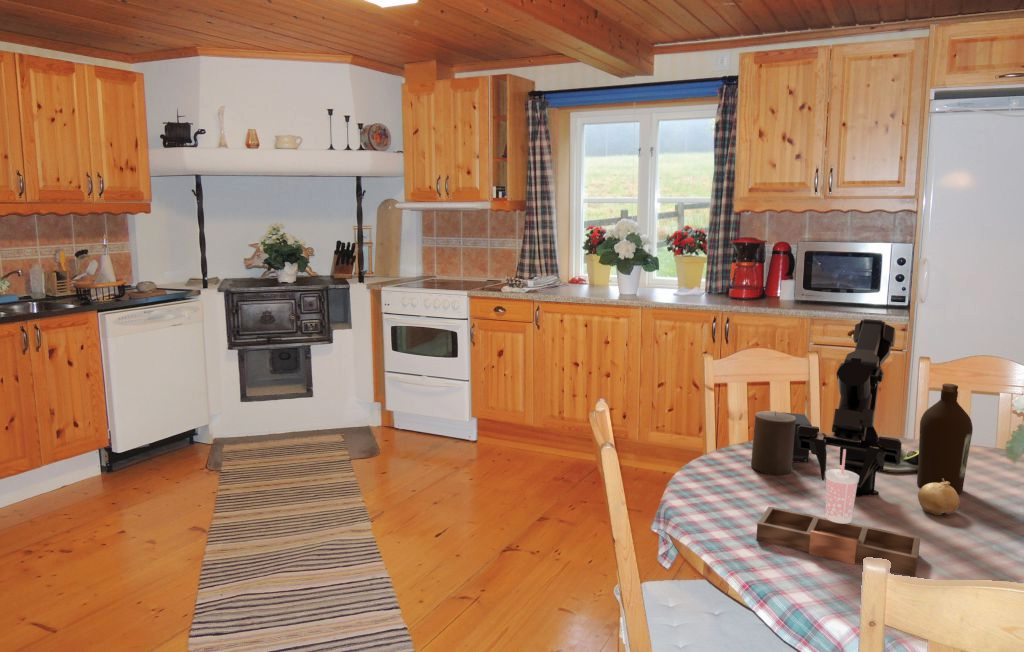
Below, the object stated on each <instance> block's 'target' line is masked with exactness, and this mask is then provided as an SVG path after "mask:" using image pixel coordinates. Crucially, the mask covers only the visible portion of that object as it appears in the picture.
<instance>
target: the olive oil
mask: <svg viewBox="0 0 1024 652" xmlns="http://www.w3.org/2000/svg"><path fill="white" fill-rule="evenodd" d="M941 386H942V387H941V388H942V389H941V390H940V399H939V400H938V401H937V402H936V403H934V404H933V405H932V406H930V407H929V408H927V409H926V410H925V411H924V412H923V414H922V416H921V418H920V421H919V443H918V450H919V460H918V472H917V477H916V478H917V479H916V485H917V487H918V488H919V489H921V488H922V487H923V486H924V485H926V484H929V483H941V482H944V481H948V482H950V484H949V485H950V486H951V487H952V488H953V489H954V490H955V491H956V492H957V494H958V496H959V495H961V494H962V493H963V489H964V485H965V484H964V483H965V477H966V471H967V466H968V465H967V464H968V460H969V459H968V458H969V452H970V448H971V441H972V436H973V422H972V419H971V417H970V416H969V414H968V413H967V412H966V411H965V409H964V408H963V407H962V406H961V405H960V403H959V402H958V398H959V397H958V396H959V391H958V389H959V385H957V384H954V383H943V384H941ZM943 478H944V481H943V480H942V479H943Z"/></svg>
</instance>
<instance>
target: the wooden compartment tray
mask: <svg viewBox="0 0 1024 652" xmlns="http://www.w3.org/2000/svg"><path fill="white" fill-rule="evenodd" d="M756 525H757V527H756V540H755V541H758V542H762V541H764V542H763V543H767V542H768V544H771V543H772V545H776V546H781V547H784V546H785V548H789V549H793V550H798V551H803V552H807V553H808V554H809V555H812V556H816V557H821V558H824V557H825V559H828V560H834V561H838V562H843V563H847V564H851V565H855V564H859V565H863V559H864V558H866V557H873V558H882V559H887V560H889V561H890V562H891V568H890V571H889V572H895V573H899V574H903V575H907V576H910V577H911V576H913V577H916V574H917V565H918V561H919V554H920V544H921V543H920V542H921V537H920V536H915V535H910V534H905V533H902V532H896V531H891V530H888V529H887V530H886V529H881V528H876V527H871V526H866V525H862V524H856V523H853V522H850V523H845V524H841V523H835V522H832V521H830V520H828V519H827V518H826V517H822V516H818V515H813V514H807V513H803V512H799V511H793V510H789V509H784V508H779V507H774V506H768V507H767V508H766V510H765V511H764V513H763V514H762V516H761V517H760V519H759V520H758V522H757V524H756ZM861 563H862V564H861Z"/></svg>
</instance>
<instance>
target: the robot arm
mask: <svg viewBox="0 0 1024 652" xmlns="http://www.w3.org/2000/svg"><path fill="white" fill-rule="evenodd" d="M854 325H855V326H854V333H853V339H852V340H853V343H854V344H856V346H855V349H854V351H851V352H849V353H847V354H846V356H845V358H844V361H843V362H841V363H840V364H839V366H838V369H837V371H836V379H837V381H838V393H839V394H840V396H839V397H840V398H839V403H838V407H837V408H834V413H833V421H832V422H833V423H832V427H831V432H832V433H833V434H832V435H829V434H826V433H823V432H820V426H814V425H812V426H808V425H802V424H801V425H800V426H799V427H798V428H797V431H796V440H797V445H798V447H799V448H800V449H805V450H809V451H810V454H811V455H814V456H816V458H817V462H818V464H819V470H820V477H821V481H825V479H826V477H825V472H826V471H827V458H828V457H827V456H828V454H827V446H831V447H836V448H837V447H838V448H840V449H839V466H842V459H843V449H846V456H845V467H844V470H848V471H851V472H854V473H856V474H858V475H859V482H858V484H857V490H856V496H855V498H857V497H858V498H859V497H866V496H867V497H869V496H875V495H876V496H878V495H879V494H880V492H879V491H877V489H875V484H876V473H877V472H880V471H881V470H883V468H884V463H890V464H896V465H897V464H900V460H901V449H902V444H903V443H902V440H900V439H899V438H896V437H895V438H894V437H887V436H883V435H881V436H879V435H878V433H877V431H876V429H875V419H876V410H877V404H878V403H877V401H878V393H879V386H880V383H881V382H882V381H883V380H884V377H885V372H884V371H883V369H882V364H883V363H884V362H885V361H886V360H887V359H888V358H889V357H890V356H891V348H895V342H896V329H895V327H893V326H891V325H889V324H887V323H886V321H883V320H881V319H868V318H864V319H861V320H860V322H858V323H855V324H854Z"/></svg>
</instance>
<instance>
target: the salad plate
mask: <svg viewBox="0 0 1024 652" xmlns="http://www.w3.org/2000/svg"><path fill="white" fill-rule="evenodd" d="M918 460H919V449H918V450H907V449H906V450H905V449H903V448H901V460H900V464H897V465H896V464H890V463H884V468H883V470H880V471H882V472H888V473H893V474H894V473H918Z"/></svg>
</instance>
